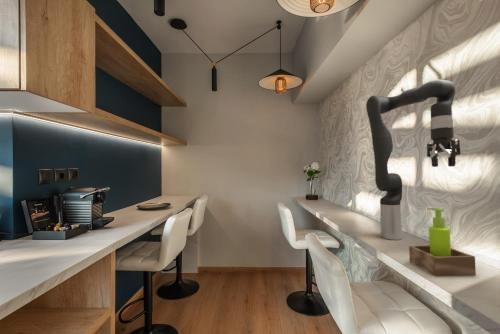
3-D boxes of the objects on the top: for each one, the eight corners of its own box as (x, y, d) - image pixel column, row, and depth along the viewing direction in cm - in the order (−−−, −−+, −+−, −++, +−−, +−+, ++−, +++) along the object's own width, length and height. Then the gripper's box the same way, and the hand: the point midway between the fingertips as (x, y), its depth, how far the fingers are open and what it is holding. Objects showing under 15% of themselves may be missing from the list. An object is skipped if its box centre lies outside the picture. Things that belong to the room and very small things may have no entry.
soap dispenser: (439, 260, 90) (436, 206, 91) (456, 268, 83) (453, 209, 84) (424, 261, 90) (421, 207, 90) (439, 268, 83) (437, 210, 83)
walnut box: (409, 261, 92) (409, 245, 92) (443, 260, 92) (442, 244, 93) (436, 276, 79) (435, 257, 79) (475, 275, 79) (474, 256, 80)
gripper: (420, 130, 109) (421, 167, 108) (446, 124, 94) (448, 166, 94) (437, 130, 109) (438, 166, 109) (465, 124, 95) (467, 165, 94)
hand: (443, 166), depth 101 cm, fingers open, 8 cm apart
